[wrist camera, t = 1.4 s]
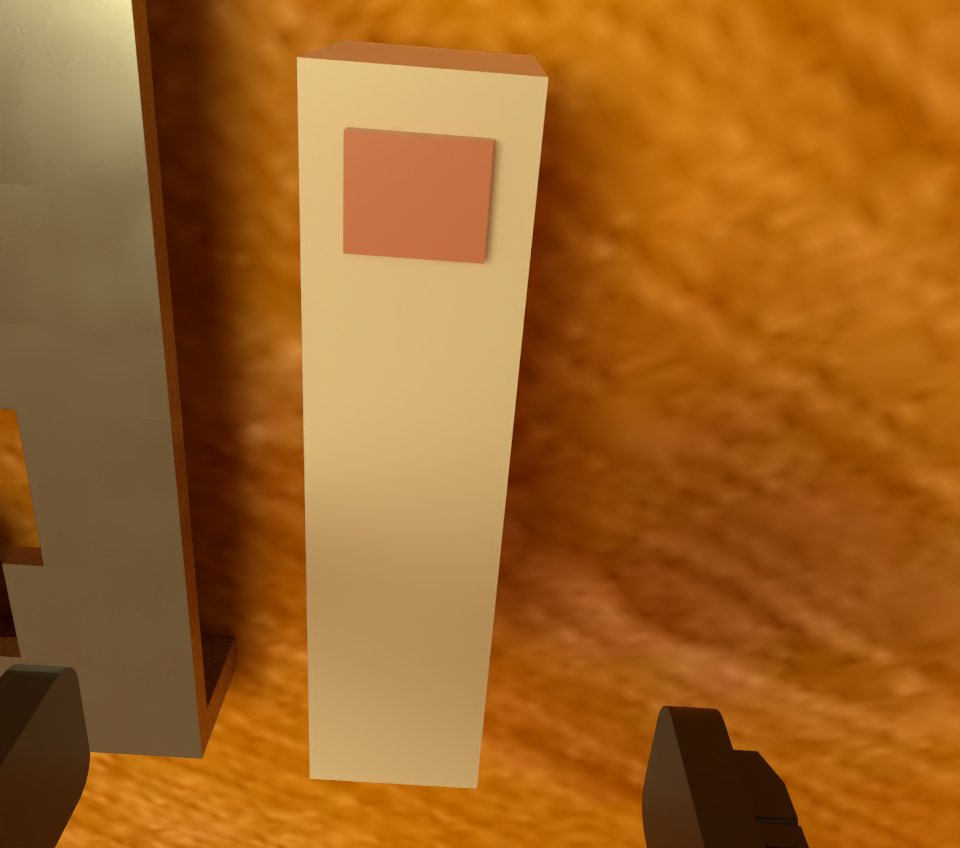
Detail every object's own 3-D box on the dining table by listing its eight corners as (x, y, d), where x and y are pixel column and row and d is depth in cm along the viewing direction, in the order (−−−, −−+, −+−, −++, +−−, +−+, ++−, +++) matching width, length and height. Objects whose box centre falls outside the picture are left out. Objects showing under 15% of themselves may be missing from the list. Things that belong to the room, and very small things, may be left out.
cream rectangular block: (362, 33, 21) (291, 59, 14) (528, 46, 21) (550, 79, 14) (355, 577, 28) (306, 792, 21) (480, 585, 28) (476, 802, 21)
